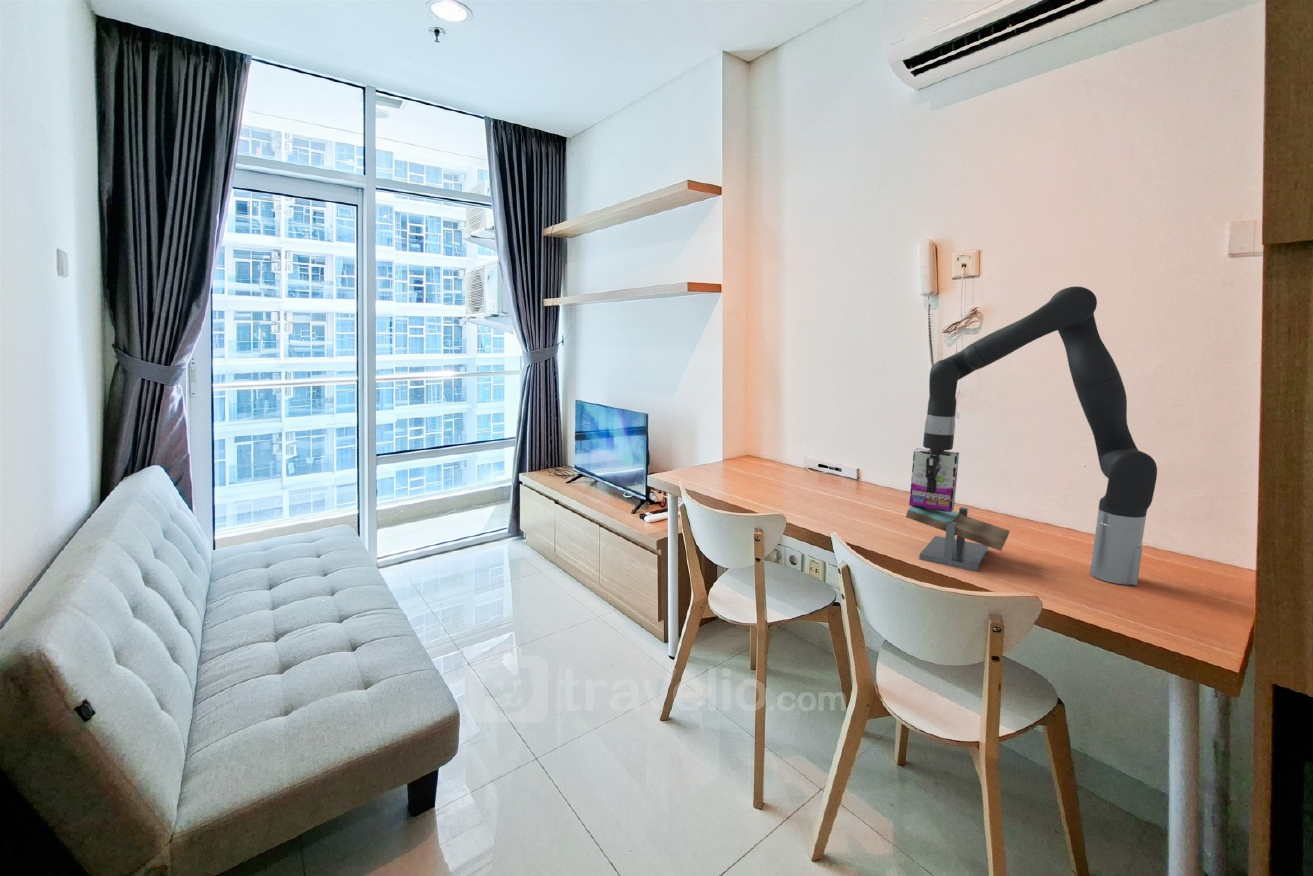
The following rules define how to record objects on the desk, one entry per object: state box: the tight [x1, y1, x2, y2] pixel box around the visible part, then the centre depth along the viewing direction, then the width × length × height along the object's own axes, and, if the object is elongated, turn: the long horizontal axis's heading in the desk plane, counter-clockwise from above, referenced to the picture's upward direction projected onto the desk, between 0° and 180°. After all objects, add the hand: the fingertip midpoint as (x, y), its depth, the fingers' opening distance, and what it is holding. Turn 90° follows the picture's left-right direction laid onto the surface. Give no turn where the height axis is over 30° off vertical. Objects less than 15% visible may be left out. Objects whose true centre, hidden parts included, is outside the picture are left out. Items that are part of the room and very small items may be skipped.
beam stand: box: [918, 506, 989, 572], centre depth 158 cm, size 14×20×12 cm
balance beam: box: [905, 506, 1011, 552], centre depth 158 cm, size 24×15×2 cm, turn 54°
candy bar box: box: [908, 448, 960, 512], centre depth 160 cm, size 11×5×16 cm, turn 55°
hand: (933, 490), depth 160 cm, fingers closed on candy bar box, 5 cm apart
